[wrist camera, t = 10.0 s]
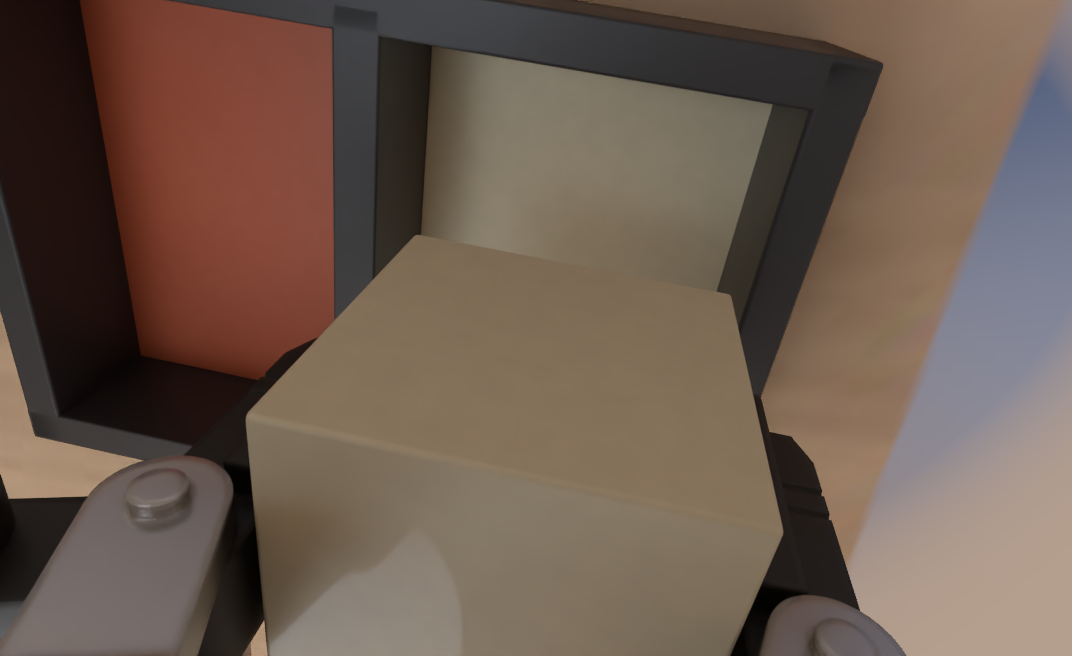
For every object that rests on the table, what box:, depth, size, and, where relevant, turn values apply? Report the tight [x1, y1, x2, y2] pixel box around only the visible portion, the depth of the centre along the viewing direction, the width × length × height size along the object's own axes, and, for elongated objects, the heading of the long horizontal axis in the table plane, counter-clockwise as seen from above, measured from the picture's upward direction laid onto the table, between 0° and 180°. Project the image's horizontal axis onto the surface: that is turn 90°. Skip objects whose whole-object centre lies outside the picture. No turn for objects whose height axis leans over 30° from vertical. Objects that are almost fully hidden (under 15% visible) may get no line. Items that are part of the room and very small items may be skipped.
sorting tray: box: [0, 0, 883, 460], centre depth 14 cm, size 16×11×4 cm
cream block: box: [246, 235, 783, 656], centre depth 8 cm, size 4×4×4 cm
